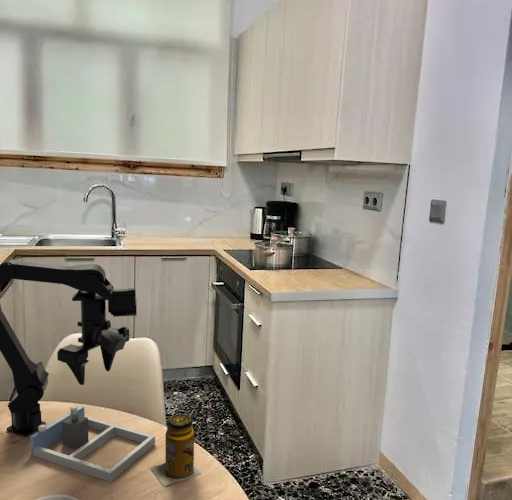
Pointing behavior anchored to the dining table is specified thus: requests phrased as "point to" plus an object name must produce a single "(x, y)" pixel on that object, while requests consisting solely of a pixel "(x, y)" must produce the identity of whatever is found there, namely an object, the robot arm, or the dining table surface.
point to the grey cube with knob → (75, 431)
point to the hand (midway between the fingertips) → (95, 377)
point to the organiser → (88, 446)
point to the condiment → (178, 451)
